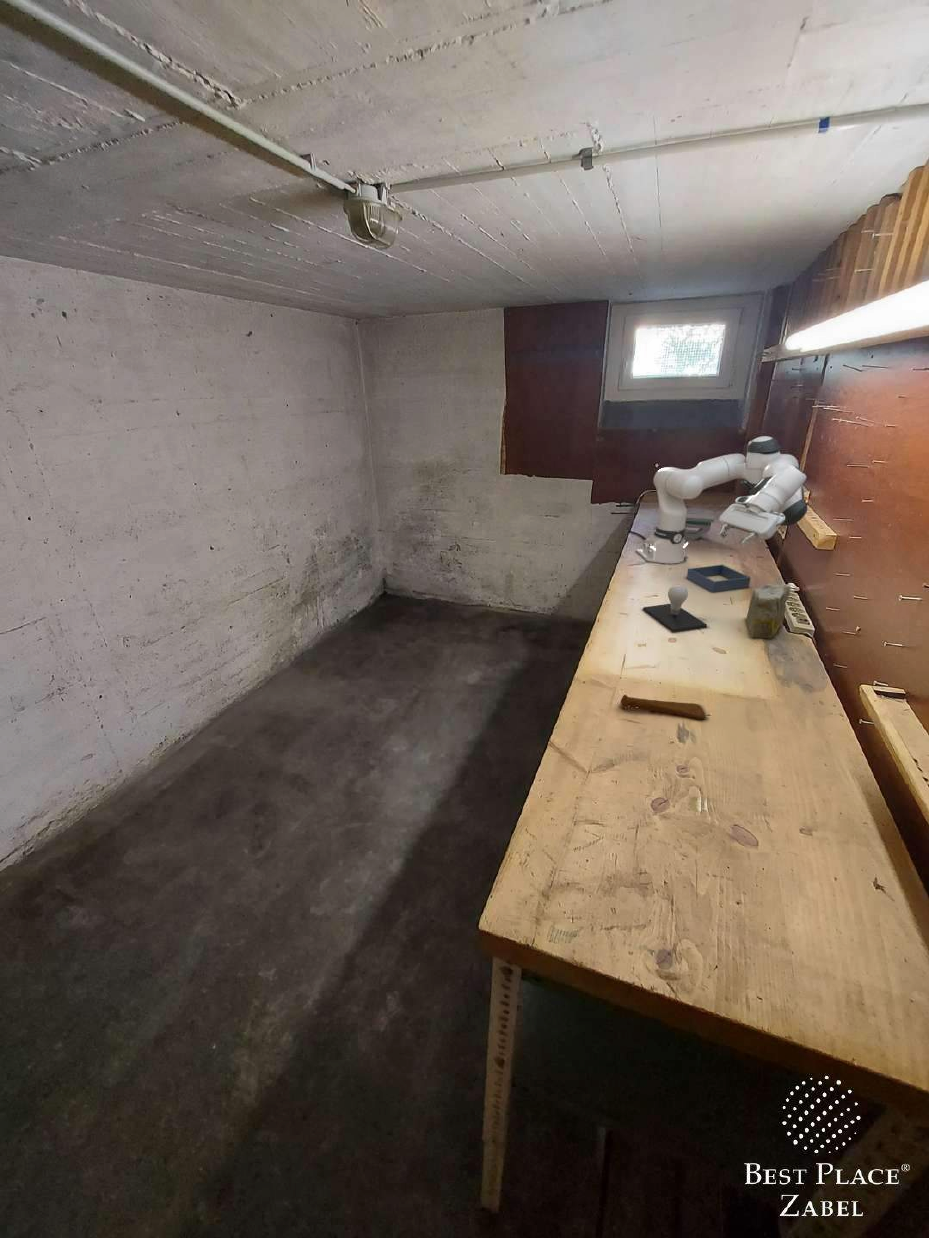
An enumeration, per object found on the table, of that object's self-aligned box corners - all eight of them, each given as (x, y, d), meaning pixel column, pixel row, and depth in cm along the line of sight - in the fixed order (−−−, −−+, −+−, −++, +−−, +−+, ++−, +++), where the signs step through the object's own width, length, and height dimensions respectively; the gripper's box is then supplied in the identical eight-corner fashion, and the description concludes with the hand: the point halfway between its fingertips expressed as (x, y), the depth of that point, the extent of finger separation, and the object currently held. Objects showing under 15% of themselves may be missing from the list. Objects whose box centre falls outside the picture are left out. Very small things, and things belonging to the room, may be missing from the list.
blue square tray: (686, 578, 195) (688, 568, 193) (720, 573, 198) (722, 564, 196) (712, 592, 181) (714, 582, 179) (748, 587, 184) (750, 577, 182)
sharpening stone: (711, 537, 242) (715, 515, 238) (710, 541, 236) (714, 519, 231) (658, 532, 253) (661, 511, 249) (656, 536, 247) (659, 515, 242)
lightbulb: (685, 619, 159) (691, 589, 155) (666, 619, 161) (671, 588, 156) (682, 612, 165) (687, 582, 160) (663, 611, 166) (667, 581, 161)
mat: (642, 609, 170) (643, 607, 170) (673, 605, 172) (673, 603, 172) (673, 632, 154) (673, 629, 154) (706, 627, 156) (706, 624, 156)
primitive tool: (699, 706, 119) (701, 694, 118) (706, 720, 114) (708, 708, 113) (619, 702, 122) (620, 691, 120) (622, 716, 117) (624, 704, 116)
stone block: (749, 638, 149) (760, 593, 142) (745, 618, 161) (755, 576, 154) (787, 643, 145) (800, 597, 138) (781, 622, 157) (792, 579, 150)
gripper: (792, 521, 151) (759, 555, 153) (742, 507, 169) (713, 538, 171) (784, 508, 148) (751, 543, 150) (734, 496, 166) (705, 527, 168)
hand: (730, 540), depth 161 cm, fingers open, 8 cm apart
